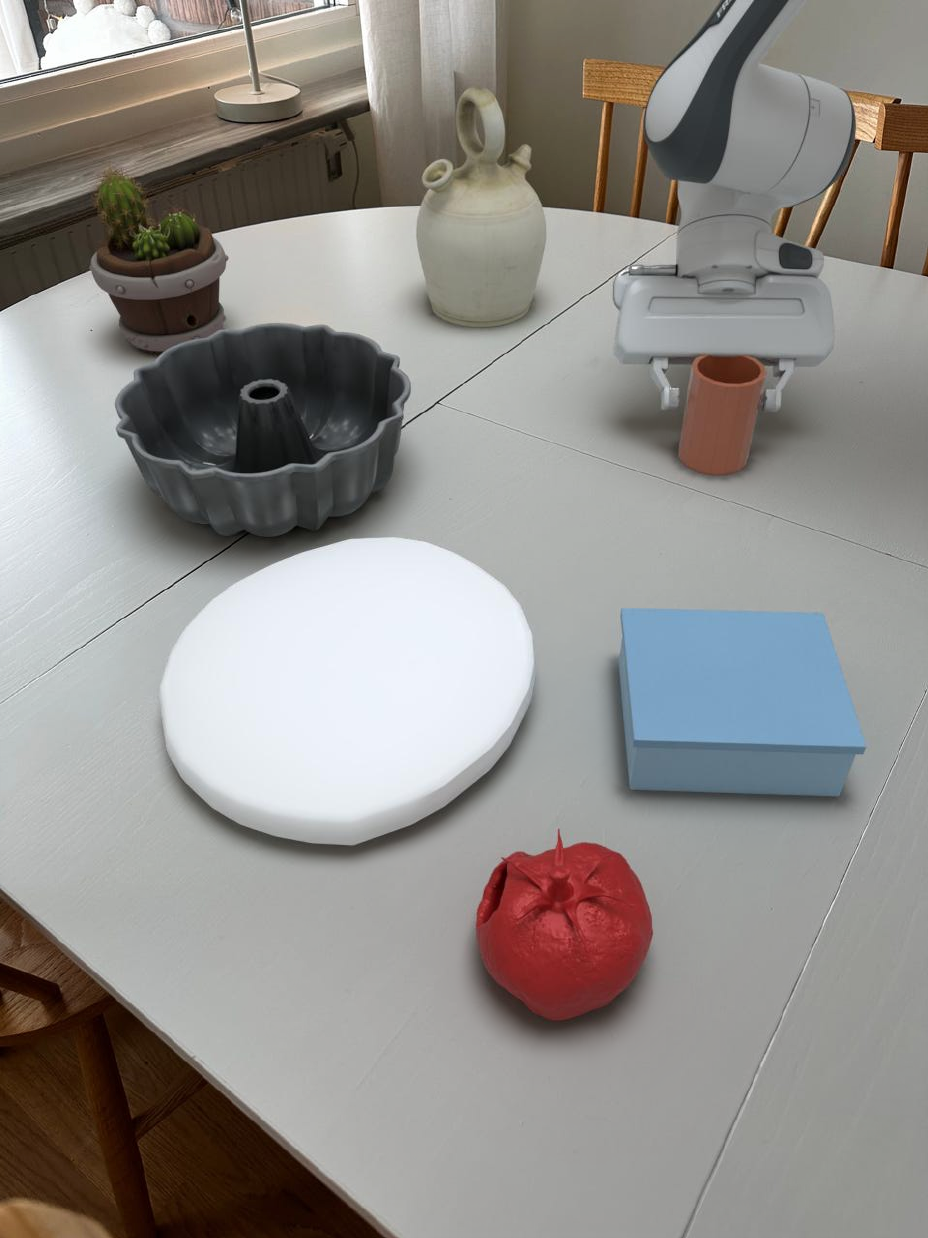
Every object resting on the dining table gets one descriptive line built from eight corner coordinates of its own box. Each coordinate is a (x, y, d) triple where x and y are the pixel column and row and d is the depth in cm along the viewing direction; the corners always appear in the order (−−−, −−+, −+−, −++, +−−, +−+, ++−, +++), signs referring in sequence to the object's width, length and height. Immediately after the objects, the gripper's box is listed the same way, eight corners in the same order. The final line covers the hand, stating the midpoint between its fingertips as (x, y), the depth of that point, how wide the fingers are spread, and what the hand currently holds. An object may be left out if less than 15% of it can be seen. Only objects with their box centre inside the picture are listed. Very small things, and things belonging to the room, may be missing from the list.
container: (805, 670, 75) (823, 612, 71) (843, 804, 66) (867, 747, 62) (613, 665, 76) (621, 607, 72) (624, 797, 66) (634, 739, 62)
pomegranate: (679, 971, 57) (703, 884, 51) (545, 1073, 53) (553, 992, 47) (570, 854, 63) (579, 763, 57) (442, 937, 59) (437, 849, 53)
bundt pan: (420, 560, 85) (415, 463, 79) (115, 577, 84) (83, 480, 78) (411, 404, 105) (406, 316, 98) (163, 416, 104) (141, 328, 97)
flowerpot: (264, 324, 119) (236, 150, 105) (183, 381, 109) (140, 197, 96) (171, 301, 124) (132, 132, 111) (85, 353, 114) (31, 175, 101)
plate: (363, 890, 56) (67, 697, 68) (379, 939, 61) (100, 751, 72) (606, 588, 70) (328, 472, 82) (604, 647, 75) (341, 529, 87)
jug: (434, 344, 115) (426, 112, 98) (408, 289, 126) (397, 72, 109) (558, 328, 117) (571, 100, 100) (523, 276, 128) (529, 62, 111)
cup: (740, 442, 98) (759, 351, 92) (751, 480, 94) (771, 386, 87) (674, 441, 99) (688, 350, 92) (681, 478, 94) (696, 385, 87)
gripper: (616, 250, 90) (613, 398, 90) (841, 252, 89) (839, 402, 89) (610, 277, 97) (606, 415, 96) (819, 279, 96) (817, 419, 95)
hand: (720, 409), depth 93 cm, fingers open, 8 cm apart
